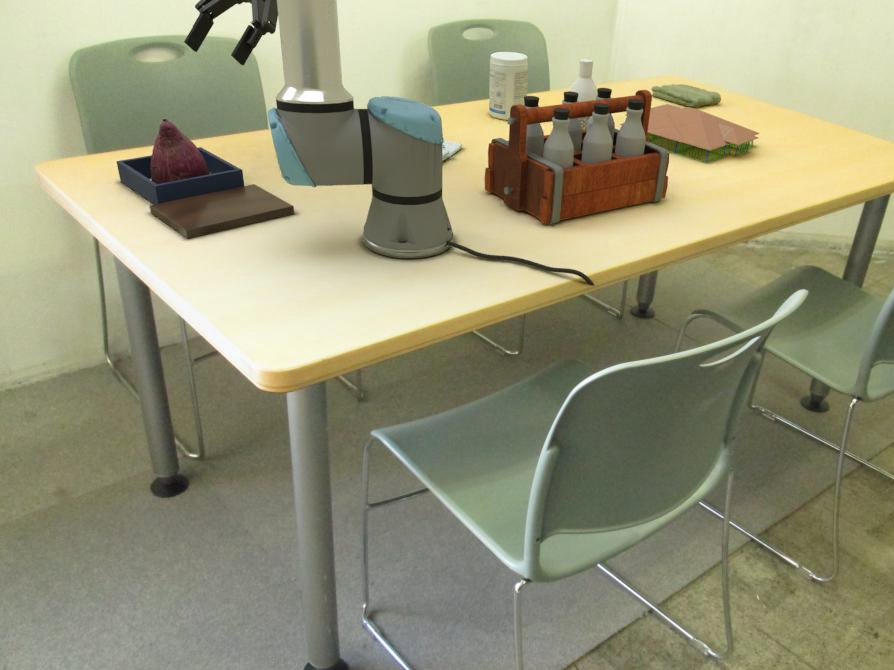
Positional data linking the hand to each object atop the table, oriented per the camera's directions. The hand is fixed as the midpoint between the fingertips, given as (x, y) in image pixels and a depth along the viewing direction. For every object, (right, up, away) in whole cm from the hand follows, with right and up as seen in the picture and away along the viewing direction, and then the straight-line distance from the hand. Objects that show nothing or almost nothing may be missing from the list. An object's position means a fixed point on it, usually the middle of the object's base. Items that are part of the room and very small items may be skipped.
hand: (213, 53), depth 156 cm
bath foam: (+69, -6, +40) cm, 80 cm away
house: (+96, 0, +53) cm, 110 cm away
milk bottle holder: (+68, -23, +14) cm, 73 cm away
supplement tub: (+52, +9, +62) cm, 81 cm away
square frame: (-8, -23, +5) cm, 25 cm away
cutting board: (+4, -31, -5) cm, 31 cm away
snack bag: (+32, -10, +30) cm, 45 cm away
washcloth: (+102, +23, +89) cm, 137 cm away
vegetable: (-8, -23, +5) cm, 25 cm away
